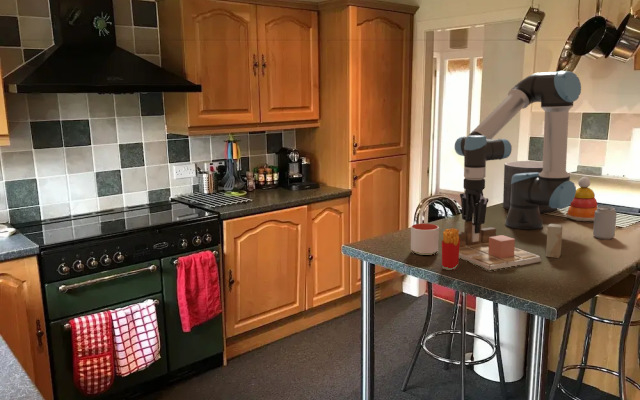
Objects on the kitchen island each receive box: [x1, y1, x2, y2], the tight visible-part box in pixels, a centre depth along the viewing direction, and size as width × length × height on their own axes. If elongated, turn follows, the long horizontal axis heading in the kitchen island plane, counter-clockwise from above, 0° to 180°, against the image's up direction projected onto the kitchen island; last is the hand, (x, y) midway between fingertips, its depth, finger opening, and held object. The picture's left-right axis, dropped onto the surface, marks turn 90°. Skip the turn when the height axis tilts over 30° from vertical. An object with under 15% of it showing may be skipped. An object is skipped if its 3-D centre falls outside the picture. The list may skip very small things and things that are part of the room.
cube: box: [488, 234, 516, 258], centre depth 179 cm, size 6×6×6 cm
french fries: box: [441, 227, 460, 268], centre depth 173 cm, size 9×4×13 cm, turn 143°
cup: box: [410, 223, 440, 253], centre depth 190 cm, size 10×10×10 cm
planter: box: [502, 160, 558, 214], centre depth 256 cm, size 25×25×22 cm
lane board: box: [459, 244, 542, 270], centre depth 184 cm, size 24×22×2 cm
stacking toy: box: [565, 176, 598, 222], centre depth 231 cm, size 14×14×20 cm
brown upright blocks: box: [463, 221, 519, 262], centre depth 183 cm, size 22×6×10 cm, turn 23°
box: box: [545, 223, 564, 259], centre depth 182 cm, size 5×4×11 cm
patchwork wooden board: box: [459, 227, 536, 265], centre depth 184 cm, size 22×20×6 cm
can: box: [592, 206, 618, 240], centre depth 203 cm, size 8×8×12 cm
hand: (472, 240), depth 193 cm, fingers closed on brown upright blocks, 2 cm apart
